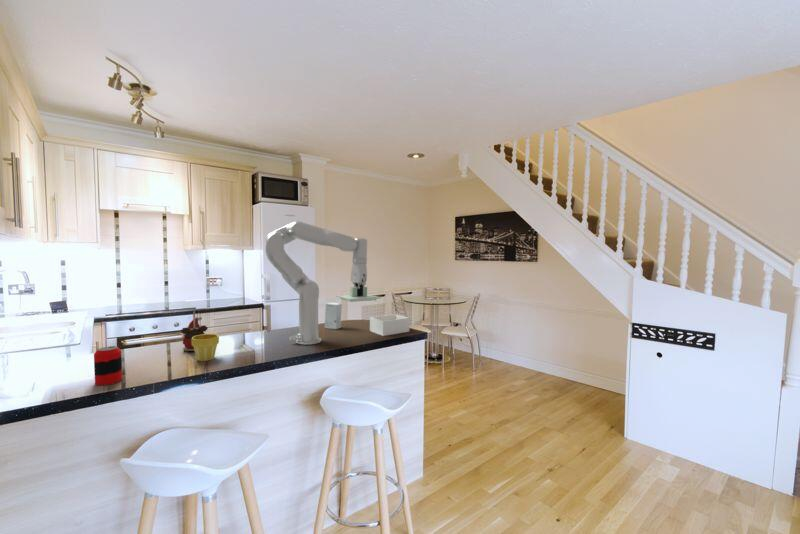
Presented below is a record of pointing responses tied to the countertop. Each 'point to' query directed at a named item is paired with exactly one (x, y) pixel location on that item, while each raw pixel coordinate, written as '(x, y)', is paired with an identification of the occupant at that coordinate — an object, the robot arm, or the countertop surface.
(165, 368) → the countertop surface
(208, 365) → the countertop surface
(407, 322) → the tub
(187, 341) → the dark red figurine
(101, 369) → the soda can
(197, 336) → the plant pot
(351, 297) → the lid
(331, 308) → the skincare box
